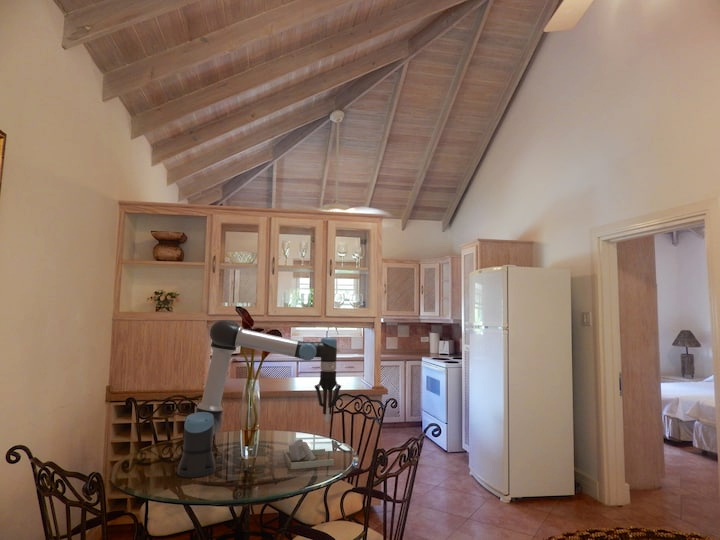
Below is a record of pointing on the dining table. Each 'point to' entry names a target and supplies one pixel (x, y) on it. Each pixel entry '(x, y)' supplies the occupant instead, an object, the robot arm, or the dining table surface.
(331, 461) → the keeper channel
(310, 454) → the wall hook
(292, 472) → the dining table surface
